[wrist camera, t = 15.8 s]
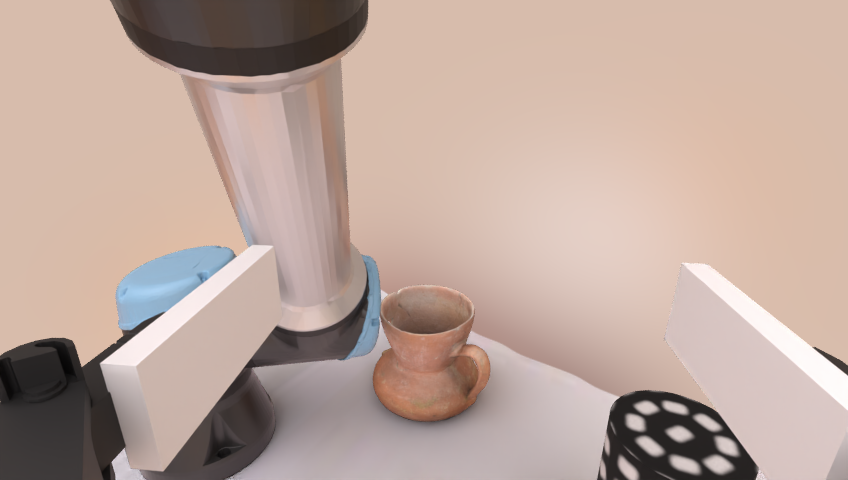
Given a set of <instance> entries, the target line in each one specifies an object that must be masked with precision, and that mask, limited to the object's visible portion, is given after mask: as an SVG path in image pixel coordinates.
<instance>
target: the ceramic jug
mask: <svg viewBox="0 0 848 480" xmlns="http://www.w3.org/2000/svg"><path fill="white" fill-rule="evenodd" d="M474 314H475V308H474V305H473V303H472V301H471V300H470V299H469V298H468V297H467V296H466V295H464V294H463V293H461V292H459V291H457V290H454V289H451V288H448V287H442V286H437V285H415V286H409V287H405V288H402V289H399V290H398V292H397V293H393V292H392V293H391V294H389V295H388V296H386V297H385V298H384V300H383V301H382V303H381V311H380V318H381V322H382V326H383V329H384V332H385V334H386V337H387V339H388V341H389V343H390V346H391V348H390V349H388V350H385V351H383V353H382V357H381V358H380V359H379V361H378V362H377V364H376V366H375V369H374V373H373V386H374V390H375V392H376V394H377V396H378V398H379V400H380V401H381V403H382V404H383V405H384V406H385V407H386V408H387V409H389V410H390V411H391V412H393V413H395V414H397V415H399V416H401V417H403V418H407V419H410V420H415V421H424V422H432V421H439V420H444V419H448V418H450V417H453V416H455V415H457V414H459V413H461V412H463V411H464V410H466V409H467V408H468V407H469V406H470V405H472V404H473V403H475V401H476V398H477V395H478V394H479V393H480V392H481V391H482V390H483V389H484V388H485V386H486V384H487V382H488V380H489V376H490V362H489V358H488V356H487V354H486V352H485V351H484V350H483V349H481V348H480V347H478V346H476V345H472V344H467V345H466V341H467V338H468V336H469V333H470V331H471V328H472V324H473V319H474ZM388 321H389V322H390V323H391V324H390V323H389V322H388ZM471 358H472V359H473V360H474V361H475V362H476V365H477V367H476V365H475V363H474V362H473V360H472V359H471ZM477 368H478V370H477Z"/></svg>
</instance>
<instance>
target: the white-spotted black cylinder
mask: <svg viewBox="0 0 848 480" xmlns="http://www.w3.org/2000/svg"><path fill="white" fill-rule="evenodd" d="M758 469H759V467H758V466H757V465H756V463H755V462H754V460H753V459H752V458H751V456H750V455H749V454H748V452H747V451H746V450H745V448H744V447H743V446H742V444H741V443H740V441H739V440H738V439H737V437H736V436H735V435H734V433H733V432H732V431H731V429H730V428H729V427H728V425H727V424H726V422H725V421H724V420H723V418H722V417H721V416H720V414H719V413H718V412H716V411H715V410H713V409H712V408H710V407H708V406H706V405H704V404H702V403H700V402H697V401H695V400H692V399H689V398H687V397H684V396H680V395H677V394H673V393H668V392H663V391H651V390H645V391H635V392H631V393H628V394H625V395H623V396H621V397H620V398H619V399H617V400H616V401H615V402H614V404H613V405H612V407H611V410H610V415H609V420H608V426H607V431H606V436H605V442H604V447H603V452H602V457H601V463H600V468H599V473H598V478H597V480H756V477H757V474H758Z"/></svg>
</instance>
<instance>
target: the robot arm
mask: <svg viewBox="0 0 848 480" xmlns="http://www.w3.org/2000/svg"><path fill="white" fill-rule="evenodd" d="M110 1H111V2H112V4H113V6H114V9H115V11H116V13H117V15H118V17H119V19H120V21H121V24H122V26H123V28H124V30H125V32H126V34H127V36H128V38H129V39H130V41H131V42H132V44H133V45H134V46H135V47H136V48H137V49H138V50H139V51H140V52H141V53H142V54H143V55H145V56H146V57H148V58H149V59H150V60H152V61H153V62H156V63H158V64H159V65H161V66H163V67H165V68H168V69H170V70H172V71H175V72H178V73H180V75H181V78H182V80H183V83H184V85H185V88H186V90H187V93H188V96H189V98H190V100H191V103H192V106H193V108H194V111H195V113H196V116H197V118H198V121H199V123H200V126H201V128H202V131H203V133H204V136H205V138H206V141H207V143H208V146H209V148H210V151H211V154H212V156H213V159H214V161H215V164H216V166H217V169H218V171H219V174H220V176H221V179H222V181H223V184H224V186H225V189H226V191H227V194H228V197H229V199H230V202H231V204H232V207H233V209H234V212H235V214H236V216H237V219H238V222H239V224H240V227H241V229H242V232H243V234H244V237H245V239H246V242H247V245H248V247H249V248H247V249H246V250H245V251H244V252H242V253H241V254H240V255H238V256H236V255H235V254H234V252H233V251H232V250H231V249H230V248H227V247H220V246H203V247H197V248H190V249H186V250H182V251H178V252H174V253H171V254H168V255H165V256H162V257H159V258H157V259H155V260H152V261H150V262H147V263H145V264H143V265H141V266H140V267H138V268H136V269H135V270H133V271H132V272H130V273H129V274H128V275H127V276H126V277H125V278H124V279H123V280H122V281H121V282H120V284H119V286H118V287H117V290H116V303H117V310H118V316H119V322H118V324H119V328H120V329H122V332H123V337H121V338H120V339H119V340H118V341H117V343H116V344H112V345H111V346H110V347H108V348H107V349H106V350H104V351H103V352H102V353H100V354H99V355H98V356H96V357H95V358H94V359H92V360H91V361H90V362H88V363H87V364H86V365H84V366H83V367H81V364H80V361H79V357H78V354H77V351H76V348H75V345H74V343H73V341H72V340H69V339H66V338H49V339H43V340H38V341H34V342H30V343H27V344H24V345H21V346H18V347H16V348H14V349H12V350H9V351H7V352H5V353H3V354H2V355H1V356H0V480H115V473H114V469H113V466H112V463H111V462H112V461H113V460H114V459H115V457H116V456H117V455H118V454H119V453H120V452H121V451H122V450H123V449H124V448H125V451H126V454H127V458H128V461H129V464H130V468H131V469H140V472H141V474H142V475H143V476H144V478H145V479H146V480H223V479H225V478H227V477H229V476H231V475H233V474H235V473H237V472H238V471H240V470H241V469H243V468H244V467H246V466H247V465H248V464H250V463H251V462H252V461H253V460H254V459H256V458H257V457H258V456H259V455H260V454H261V452H262V451H263V450H264V449H265V448H266V446H267V445H268V443H269V441H270V440H271V438H272V435H273V433H274V429H275V415H274V408H273V403H272V401H271V398H270V396H269V395H268V394H267V392H266V391H265V390H264V388H263V386H262V384H261V383H260V381H259V379H258V377H257V376H256V374H255V372H254V371H253V369H252V368H253V367H263V366H273V365H283V364H294V363H304V362H314V361H324V360H335V359H338V360H348V359H350V358H351V357H358V356H364V355H366V354H368V353H370V352H371V351H372V350H373V348H374V347H375V344H376V342H377V338H378V334H379V325H380V323H379V316H380V311H381V291H380V280H379V273H378V268H377V265H376V262H375V261H374V260H373V259H372V258H371V257H370V256H364V255H361V254H360V252H359V251H358V249H357V248H356V247H355V246H354V245H353V244H352V243H351V242H350V231H349V213H348V191H347V171H346V152H345V131H344V112H343V91H342V73H341V72H342V71H341V58H342V57H343V56H344V55H346V54H347V53H348V52H349V51H350V50H352V49H353V48H354V47H355V45H356V44H357V43H358V42H359V41H360V39H361V38H362V36H363V34H364V33H365V30H366V26H367V21H368V0H110ZM664 339H665V341H666V342H667V344H668V345H669V346H670V348H671V349H672V350H673V352H674V353H675V355H676V356H677V357H678V359H679V360H680V361H681V363H682V364H683V365H684V367H685V368H686V370H687V371H688V372H689V374H690V375H691V376H692V378H693V379H694V380H695V382H696V383H697V384H698V386H699V387H700V389H701V390H702V391H703V392H704V394H705V395H706V397H707V398H708V399H709V401H710V402H711V403H712V405H713V406H714V408H715V409H716V410H717V412H718V413H719V414H720V416H721V417H722V418H723V420H724V421H725V422H726V424H727V425H728V427H729V428H730V429H731V431H732V432H733V433H734V435H735V436H736V437H737V439H738V440H739V441H740V443H741V444H742V446H743V447H744V448H745V450H746V451H747V452H748V454H749V455H750V456H751V458H752V459H753V460H754V462H755V463H756V465H757V466H758V467H759V469H760V470H761V471H762V473H763V474H764V475H765V477H766V478H767V479H768V480H848V365H846V364H845V363H843V362H842V361H841V360H839V359H837V358H835V357H833V356H831V355H829V354H827V353H825V352H824V351H822V350H820V349H817V348H816V347H811V346H810V345H808V344H807V343H806V342H805V341H803V340H802V339H801V338H800V337H798V336H797V335H796V334H795V333H793V332H792V331H791V330H790V329H788V328H787V327H786V326H785V325H783V324H782V323H781V322H779V321H778V320H777V319H776V318H774V317H773V316H772V315H771V314H769V313H768V312H767V311H766V310H764V309H763V308H762V307H761V306H759V305H758V304H757V303H756V302H754V301H753V300H752V299H750V298H749V297H748V296H747V295H745V294H744V293H743V292H742V291H740V290H739V289H738V288H737V287H736V286H734V285H733V284H732V283H730V282H729V281H728V280H727V279H725V278H724V277H723V276H722V275H720V274H719V273H718V272H717V271H715V270H714V269H713V268H712V267H710V266H709V265H708V264H694V263H693V264H692V263H681V267H680V272H679V277H678V281H677V285H676V289H675V294H674V298H673V302H672V307H671V311H670V316H669V320H668V324H667V329H666V333H665V338H664Z"/></svg>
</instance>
